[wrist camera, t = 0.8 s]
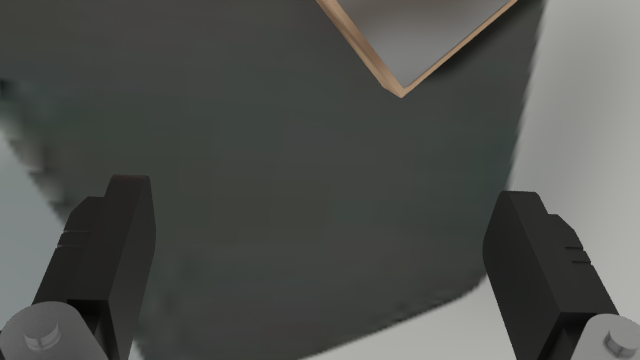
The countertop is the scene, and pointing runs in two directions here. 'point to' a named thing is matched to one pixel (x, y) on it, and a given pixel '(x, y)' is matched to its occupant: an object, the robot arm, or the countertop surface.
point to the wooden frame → (409, 33)
